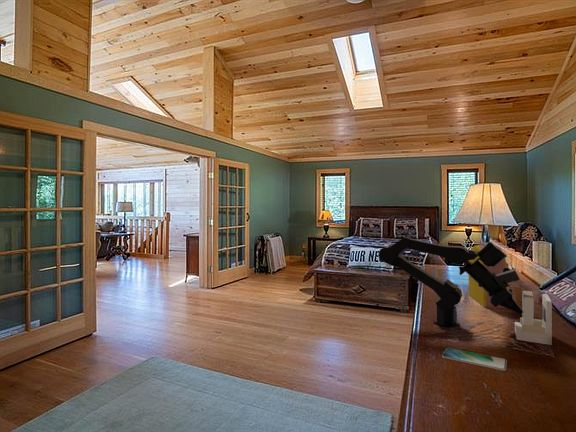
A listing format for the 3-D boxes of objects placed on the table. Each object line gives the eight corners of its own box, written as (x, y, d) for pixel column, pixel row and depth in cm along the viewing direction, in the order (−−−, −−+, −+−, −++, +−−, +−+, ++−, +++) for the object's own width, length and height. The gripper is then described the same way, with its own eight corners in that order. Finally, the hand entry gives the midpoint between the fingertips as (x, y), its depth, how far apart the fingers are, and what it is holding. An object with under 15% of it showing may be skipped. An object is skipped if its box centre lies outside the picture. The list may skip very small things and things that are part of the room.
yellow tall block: (508, 308, 142) (508, 244, 142) (484, 307, 144) (483, 244, 144) (489, 296, 162) (488, 240, 162) (468, 295, 164) (468, 240, 164)
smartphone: (505, 369, 86) (441, 356, 95) (505, 373, 86) (441, 359, 95) (507, 359, 92) (446, 346, 100) (507, 362, 92) (446, 349, 101)
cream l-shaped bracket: (516, 339, 107) (516, 298, 107) (514, 329, 117) (514, 291, 117) (551, 345, 103) (551, 301, 103) (547, 333, 112) (547, 294, 112)
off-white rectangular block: (523, 329, 108) (523, 295, 108) (522, 323, 114) (522, 290, 114) (533, 331, 107) (533, 295, 106) (531, 324, 113) (531, 291, 112)
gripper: (502, 264, 106) (547, 304, 100) (501, 257, 122) (540, 291, 116) (473, 287, 110) (515, 326, 104) (476, 277, 126) (512, 311, 120)
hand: (522, 313), depth 111 cm, fingers closed, pressing on off-white rectangular block
